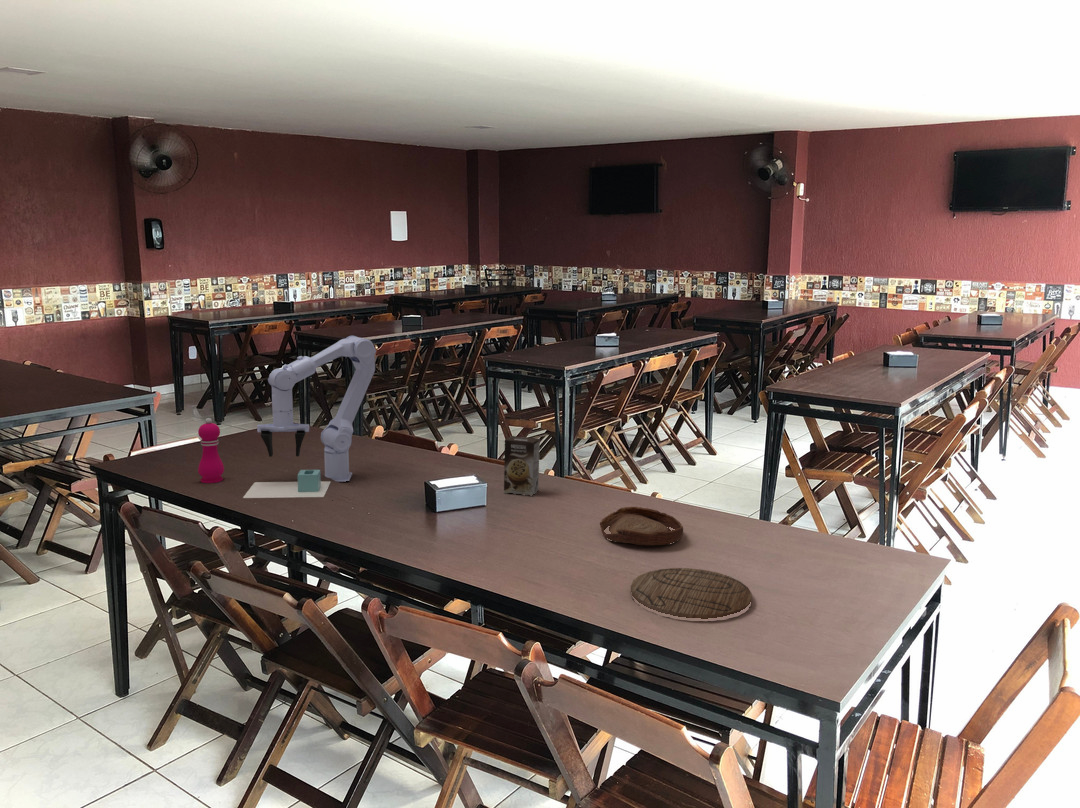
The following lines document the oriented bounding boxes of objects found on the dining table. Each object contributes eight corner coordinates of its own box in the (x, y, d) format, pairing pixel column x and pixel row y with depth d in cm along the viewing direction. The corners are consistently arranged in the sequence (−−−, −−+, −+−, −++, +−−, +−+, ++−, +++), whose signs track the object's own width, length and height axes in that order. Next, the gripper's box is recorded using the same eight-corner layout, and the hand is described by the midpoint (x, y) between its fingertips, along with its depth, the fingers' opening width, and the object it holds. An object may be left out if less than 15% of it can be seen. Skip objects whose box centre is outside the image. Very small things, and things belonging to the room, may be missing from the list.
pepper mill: (229, 481, 267) (225, 416, 263) (218, 487, 260) (214, 420, 256) (205, 480, 268) (202, 415, 264) (194, 486, 260) (190, 420, 257)
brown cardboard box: (503, 493, 259) (503, 439, 256) (510, 488, 265) (510, 435, 262) (532, 496, 256) (533, 442, 253) (539, 490, 262) (540, 437, 259)
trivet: (741, 632, 170) (741, 623, 170) (615, 611, 180) (616, 602, 179) (759, 586, 193) (760, 578, 193) (647, 569, 202) (648, 561, 202)
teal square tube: (301, 486, 258) (300, 469, 257) (320, 486, 259) (320, 469, 258) (298, 492, 253) (297, 475, 252) (318, 491, 253) (317, 474, 252)
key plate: (254, 486, 262) (254, 471, 261) (330, 485, 264) (330, 470, 264) (242, 502, 246) (242, 486, 246) (323, 500, 249) (323, 485, 248)
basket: (586, 526, 231) (587, 508, 230) (655, 519, 238) (656, 501, 237) (624, 556, 210) (625, 536, 209) (698, 547, 217) (700, 527, 216)
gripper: (254, 412, 253) (256, 459, 256) (306, 412, 255) (307, 458, 257) (259, 408, 260) (261, 453, 263) (309, 408, 262) (311, 453, 264)
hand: (284, 455), depth 260 cm, fingers open, 7 cm apart
